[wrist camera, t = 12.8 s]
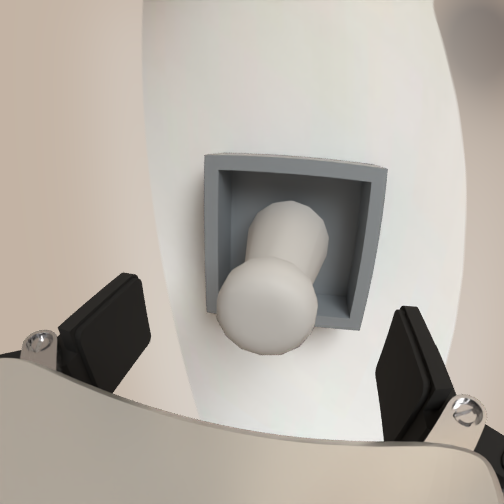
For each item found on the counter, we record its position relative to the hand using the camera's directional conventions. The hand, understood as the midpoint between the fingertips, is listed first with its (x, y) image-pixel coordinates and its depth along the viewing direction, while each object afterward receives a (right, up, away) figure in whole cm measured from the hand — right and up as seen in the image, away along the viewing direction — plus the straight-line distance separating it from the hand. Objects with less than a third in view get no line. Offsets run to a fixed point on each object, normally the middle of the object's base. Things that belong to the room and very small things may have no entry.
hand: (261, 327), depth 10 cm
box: (+3, +4, +14) cm, 15 cm away
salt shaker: (+3, +4, +13) cm, 14 cm away
